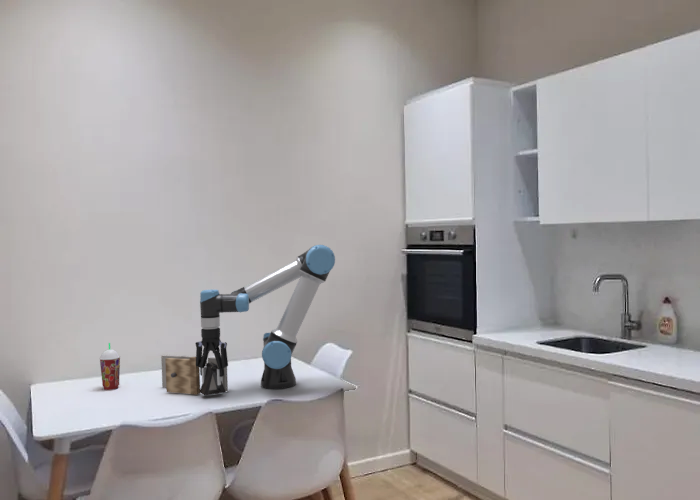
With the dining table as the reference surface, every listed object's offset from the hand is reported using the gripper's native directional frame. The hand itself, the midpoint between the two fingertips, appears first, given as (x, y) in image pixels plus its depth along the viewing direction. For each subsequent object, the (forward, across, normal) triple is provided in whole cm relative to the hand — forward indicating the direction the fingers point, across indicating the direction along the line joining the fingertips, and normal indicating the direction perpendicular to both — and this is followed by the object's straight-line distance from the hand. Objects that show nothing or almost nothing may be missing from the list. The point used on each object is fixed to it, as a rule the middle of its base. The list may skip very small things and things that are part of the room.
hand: (212, 383), depth 255 cm
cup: (+5, +28, -44) cm, 53 cm away
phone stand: (+4, 0, 0) cm, 4 cm away
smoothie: (+5, +53, 0) cm, 53 cm away
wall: (+5, +15, -8) cm, 17 cm away
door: (+5, +15, 0) cm, 15 cm away
